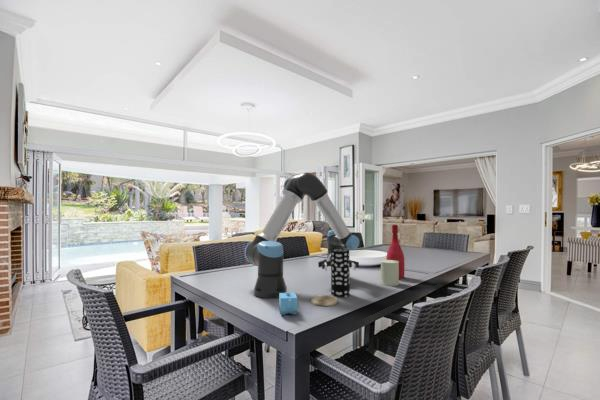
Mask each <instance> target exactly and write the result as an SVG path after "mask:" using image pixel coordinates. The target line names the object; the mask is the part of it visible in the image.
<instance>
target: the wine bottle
mask: <svg viewBox="0 0 600 400" xmlns="http://www.w3.org/2000/svg"><path fill="white" fill-rule="evenodd" d="M391 233H392V237H391V242H390V243H391V244H390V245H389V248H388V249H387V253H386V258H385V260H395V261H398V262H399V280H402V279H404V278H405V256H404V251H403V249H402V247H401V244H400V242H399V238H398V237H399V236H398V235H399V234H398V233H399V226H398V225H397V224H392V225H391Z"/></svg>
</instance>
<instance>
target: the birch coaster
mask: <svg viewBox="0 0 600 400" xmlns="http://www.w3.org/2000/svg"><path fill="white" fill-rule="evenodd" d="M310 303H311V304H312V305H314V306H319V307H331V306H335V305H337V304H338V297H335V296H332V295H325V294H323V295H320V294H319V295H314V296H311V298H310Z"/></svg>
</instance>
